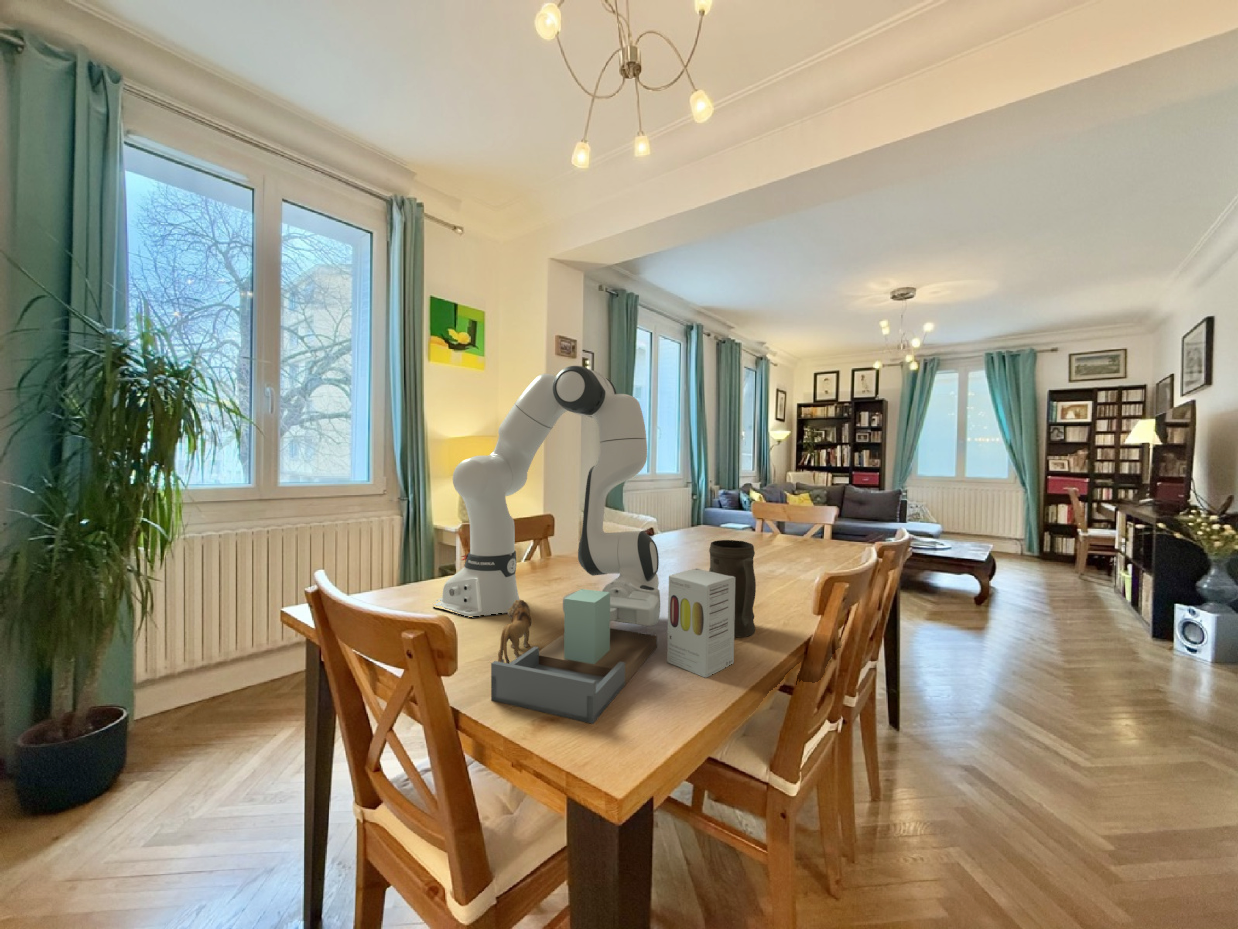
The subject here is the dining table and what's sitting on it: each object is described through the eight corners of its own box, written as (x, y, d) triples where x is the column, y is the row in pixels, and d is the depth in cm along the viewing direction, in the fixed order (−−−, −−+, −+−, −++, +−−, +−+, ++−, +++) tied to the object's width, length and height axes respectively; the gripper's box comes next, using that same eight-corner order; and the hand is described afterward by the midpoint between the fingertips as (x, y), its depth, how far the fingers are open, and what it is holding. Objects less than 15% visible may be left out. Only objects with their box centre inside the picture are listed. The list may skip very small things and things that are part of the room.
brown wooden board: (534, 668, 92) (534, 654, 92) (577, 635, 109) (578, 623, 108) (624, 685, 85) (624, 671, 85) (656, 647, 102) (656, 635, 102)
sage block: (564, 659, 90) (564, 598, 90) (581, 645, 96) (581, 588, 96) (594, 664, 88) (594, 602, 87) (609, 649, 94) (610, 592, 94)
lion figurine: (508, 639, 106) (508, 597, 106) (533, 638, 106) (533, 597, 106) (494, 669, 91) (494, 620, 91) (523, 668, 92) (523, 620, 91)
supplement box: (665, 662, 95) (666, 574, 94) (694, 649, 101) (695, 567, 101) (707, 679, 88) (708, 584, 87) (735, 663, 94) (736, 575, 94)
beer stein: (695, 623, 116) (699, 539, 114) (733, 617, 120) (738, 536, 119) (735, 652, 102) (740, 557, 100) (777, 644, 106) (782, 553, 105)
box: (491, 700, 80) (491, 663, 80) (534, 668, 92) (534, 635, 92) (592, 723, 73) (593, 683, 73) (624, 685, 85) (625, 650, 85)
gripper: (579, 580, 112) (548, 596, 99) (666, 590, 104) (645, 609, 91) (579, 607, 112) (548, 627, 99) (666, 619, 104) (645, 643, 92)
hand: (595, 619), depth 95 cm, fingers closed, pressing on sage block
